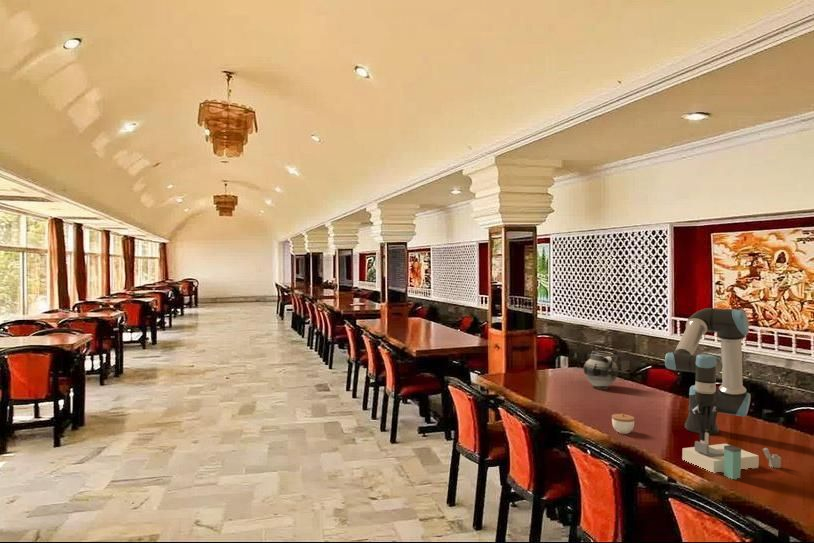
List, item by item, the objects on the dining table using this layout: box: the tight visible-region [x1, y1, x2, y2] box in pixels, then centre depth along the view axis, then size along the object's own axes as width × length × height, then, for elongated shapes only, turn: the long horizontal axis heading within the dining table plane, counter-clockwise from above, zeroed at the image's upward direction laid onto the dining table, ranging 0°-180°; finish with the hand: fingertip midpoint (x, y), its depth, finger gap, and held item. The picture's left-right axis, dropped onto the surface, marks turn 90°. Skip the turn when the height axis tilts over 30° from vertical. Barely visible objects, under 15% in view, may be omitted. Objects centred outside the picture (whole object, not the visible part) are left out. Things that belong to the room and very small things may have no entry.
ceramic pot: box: [583, 350, 620, 390], centre depth 372 cm, size 29×23×25 cm
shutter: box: [694, 440, 724, 457], centre depth 227 cm, size 9×8×4 cm
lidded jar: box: [611, 413, 636, 435], centre depth 272 cm, size 11×11×9 cm
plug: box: [723, 444, 742, 480], centre depth 214 cm, size 4×4×12 cm
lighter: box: [762, 447, 782, 469], centre depth 226 cm, size 7×2×8 cm, turn 95°
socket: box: [681, 443, 760, 474], centre depth 229 cm, size 24×16×5 cm, turn 108°
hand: (704, 447), depth 226 cm, fingers closed
